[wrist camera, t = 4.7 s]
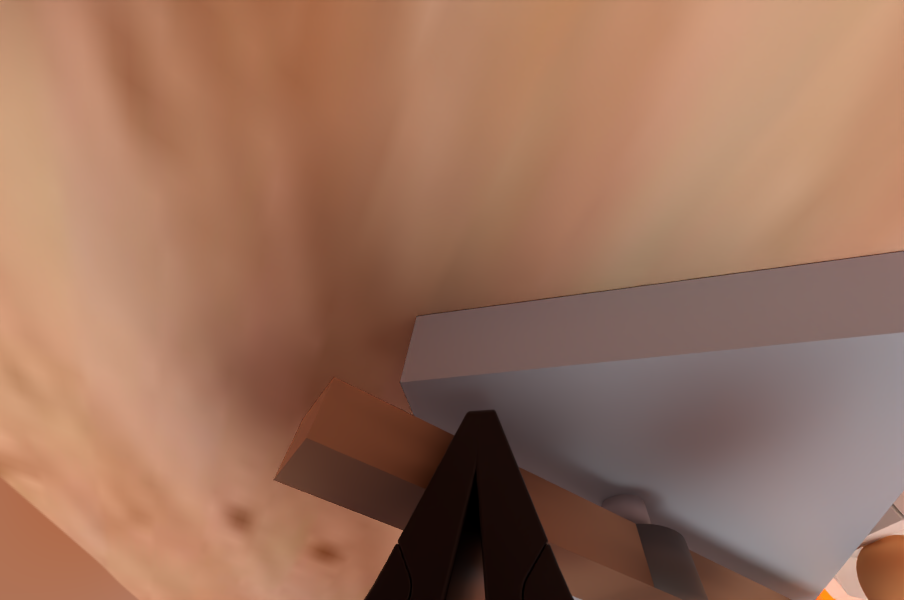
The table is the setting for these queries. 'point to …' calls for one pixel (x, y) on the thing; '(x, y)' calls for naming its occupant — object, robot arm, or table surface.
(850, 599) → the bowl
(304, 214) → the table surface
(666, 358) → the board
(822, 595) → the orange juice
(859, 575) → the ball
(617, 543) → the lever
